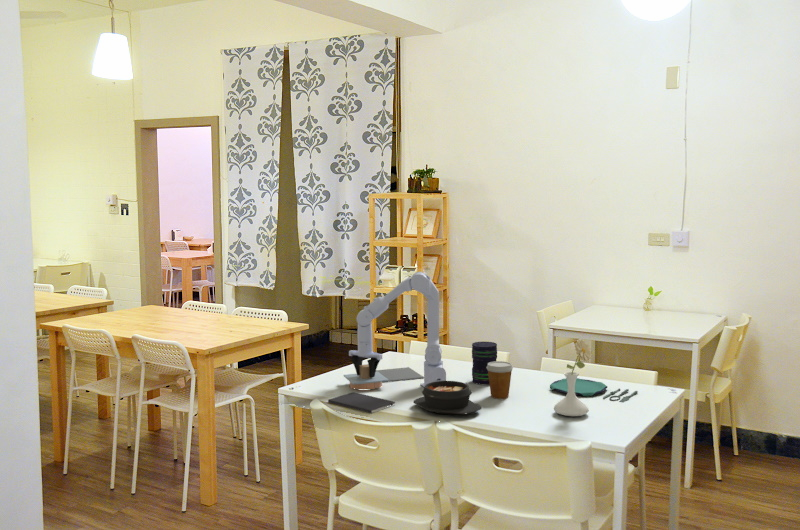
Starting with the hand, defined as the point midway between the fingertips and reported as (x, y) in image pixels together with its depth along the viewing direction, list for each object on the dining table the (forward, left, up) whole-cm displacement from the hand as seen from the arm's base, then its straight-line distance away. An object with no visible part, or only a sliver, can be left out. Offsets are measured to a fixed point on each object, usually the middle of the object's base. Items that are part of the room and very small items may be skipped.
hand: (365, 376), depth 286 cm
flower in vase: (-60, -54, -4) cm, 81 cm away
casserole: (-40, -17, -4) cm, 44 cm away
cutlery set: (-39, -75, -5) cm, 84 cm away
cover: (0, 0, -1) cm, 1 cm away
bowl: (0, 0, -4) cm, 4 cm away
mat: (+12, -16, -4) cm, 20 cm away
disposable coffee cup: (-32, -41, -4) cm, 52 cm away
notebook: (-22, +8, -5) cm, 24 cm away
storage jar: (-11, -45, -4) cm, 47 cm away
